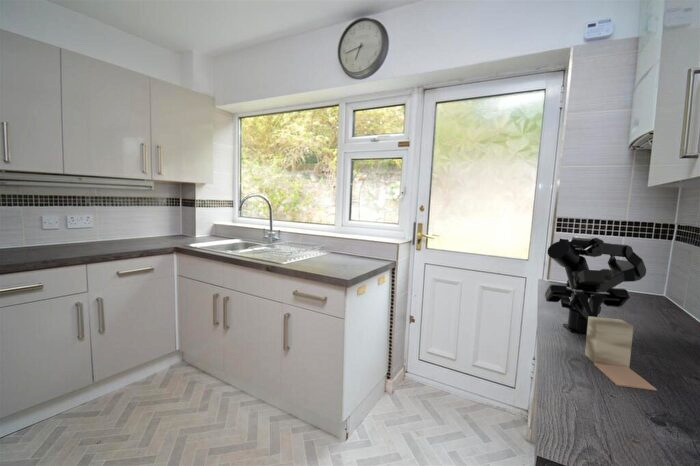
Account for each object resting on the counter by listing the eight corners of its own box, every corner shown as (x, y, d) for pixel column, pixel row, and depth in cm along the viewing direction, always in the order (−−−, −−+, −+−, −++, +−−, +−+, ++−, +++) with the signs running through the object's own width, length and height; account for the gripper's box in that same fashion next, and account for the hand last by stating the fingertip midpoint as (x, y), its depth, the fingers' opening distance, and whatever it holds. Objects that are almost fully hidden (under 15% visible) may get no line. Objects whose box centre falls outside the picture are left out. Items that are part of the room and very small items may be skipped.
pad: (593, 364, 76) (593, 362, 76) (628, 368, 75) (628, 367, 75) (616, 385, 67) (616, 384, 67) (656, 390, 65) (656, 389, 65)
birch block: (584, 354, 81) (588, 316, 81) (616, 358, 80) (620, 319, 79) (595, 363, 77) (598, 323, 76) (629, 367, 75) (633, 326, 74)
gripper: (551, 255, 90) (564, 305, 80) (629, 259, 86) (653, 312, 76) (540, 277, 98) (550, 325, 89) (610, 281, 94) (630, 332, 84)
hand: (594, 323), depth 84 cm, fingers closed
